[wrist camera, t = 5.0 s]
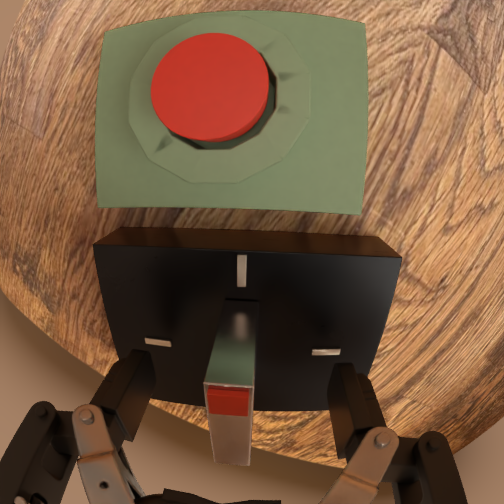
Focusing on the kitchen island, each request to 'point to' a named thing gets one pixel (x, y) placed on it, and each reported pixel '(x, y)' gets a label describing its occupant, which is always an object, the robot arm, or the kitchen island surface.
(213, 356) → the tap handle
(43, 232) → the kitchen island surface
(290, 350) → the base
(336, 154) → the block
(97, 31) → the kitchen island surface
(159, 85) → the button
